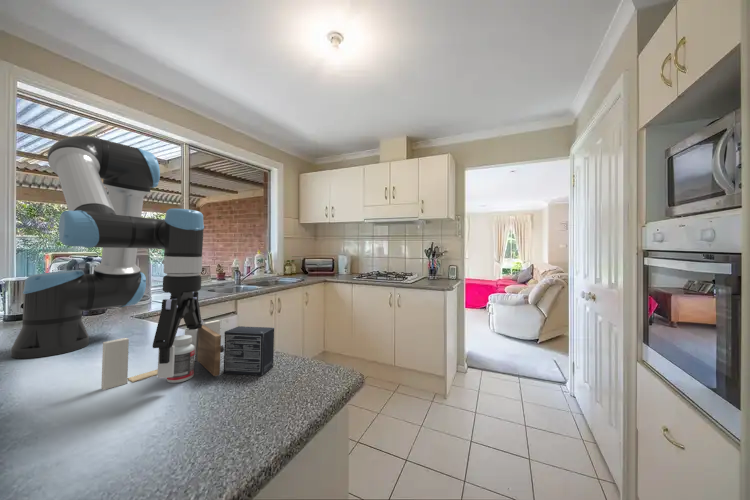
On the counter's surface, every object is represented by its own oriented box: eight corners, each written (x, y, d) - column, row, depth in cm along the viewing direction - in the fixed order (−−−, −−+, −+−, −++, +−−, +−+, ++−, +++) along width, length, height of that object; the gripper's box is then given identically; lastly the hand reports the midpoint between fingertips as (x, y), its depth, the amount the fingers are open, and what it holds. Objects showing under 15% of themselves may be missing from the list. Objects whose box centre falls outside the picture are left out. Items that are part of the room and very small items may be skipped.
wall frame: (100, 387, 61) (101, 337, 61) (214, 353, 82) (216, 316, 83) (105, 391, 59) (106, 339, 60) (220, 355, 81) (221, 317, 81)
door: (214, 376, 66) (215, 336, 66) (197, 360, 75) (198, 325, 76) (225, 373, 68) (226, 334, 68) (207, 358, 77) (208, 324, 77)
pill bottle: (196, 379, 66) (197, 337, 66) (168, 386, 62) (169, 342, 62) (191, 371, 70) (192, 332, 70) (164, 378, 66) (166, 336, 66)
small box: (274, 366, 74) (275, 326, 75) (262, 376, 68) (263, 333, 68) (237, 363, 76) (238, 324, 76) (222, 373, 69) (223, 331, 69)
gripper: (186, 270, 77) (183, 347, 77) (133, 279, 53) (128, 391, 53) (216, 271, 79) (213, 346, 79) (178, 279, 55) (173, 388, 55)
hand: (179, 364), depth 66 cm, fingers open, 13 cm apart
